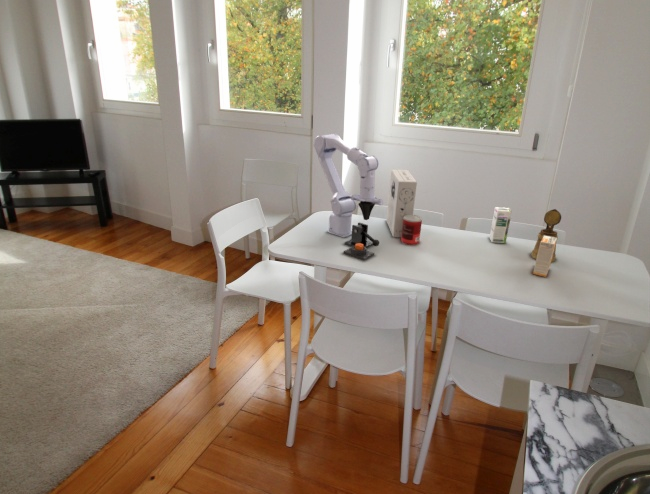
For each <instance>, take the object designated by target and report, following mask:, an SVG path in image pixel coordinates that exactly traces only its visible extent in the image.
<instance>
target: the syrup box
mask: <svg viewBox="0 0 650 494" xmlns="http://www.w3.org/2000/svg"><path fill="white" fill-rule="evenodd" d="M493 210H494V212H493V217H492V222H491V227H490V234H489V239H490V242H491V243H492V244H493V243H496V244H507V243H506V242H507V237H508V233H509V227H510V222H511V219H512V210H511V208H510V207H498V206H495V207H494V209H493Z"/></svg>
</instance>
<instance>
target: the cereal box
mask: <svg viewBox="0 0 650 494" xmlns="http://www.w3.org/2000/svg"><path fill="white" fill-rule="evenodd" d="M417 184H418V182H417V180H416V179H415V178H414V176H413V175H412V174H411V172H410V171H409V170H408V169H394V168H393V169H391V170H390V180H389V188H388V189H389V190H388V200H387V208H386V209H387V211H386V220H385V221H386V223H387V225H388V228H389V231H390V233H391V235H392V237H393V238H401V236H402V227H403V218H404V216H405V215H414V210H415V201H416V192H417Z"/></svg>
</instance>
